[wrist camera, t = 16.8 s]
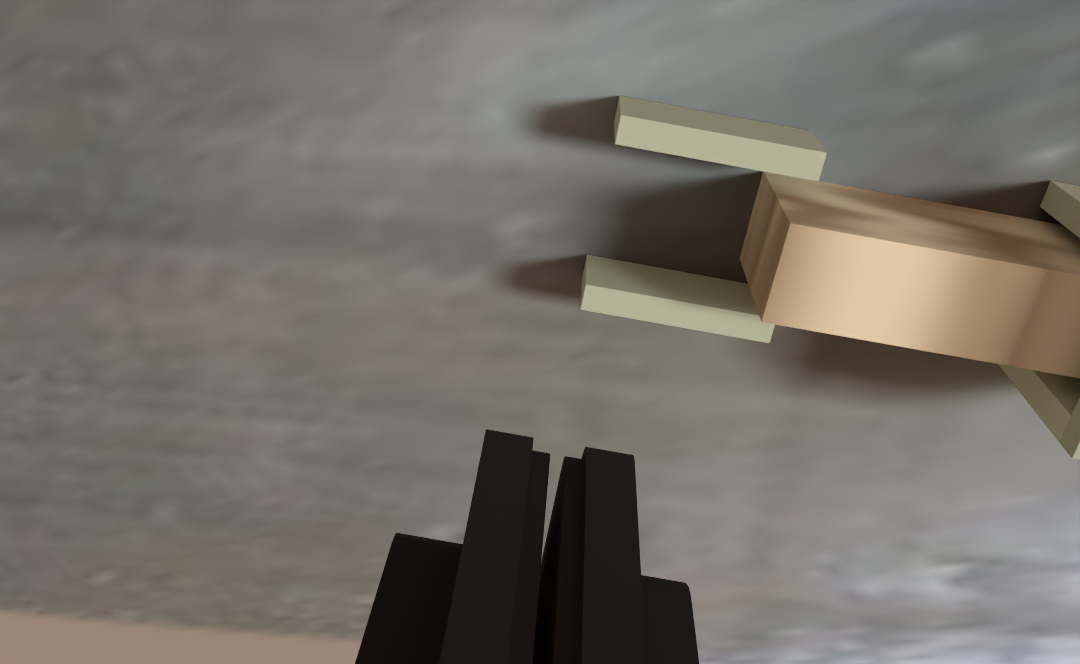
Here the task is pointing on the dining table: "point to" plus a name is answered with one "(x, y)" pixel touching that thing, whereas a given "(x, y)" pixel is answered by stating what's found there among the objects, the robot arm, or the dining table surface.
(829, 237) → the tan rectangular block
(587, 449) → the robot arm
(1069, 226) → the end cap
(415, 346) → the dining table surface
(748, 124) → the cradle
